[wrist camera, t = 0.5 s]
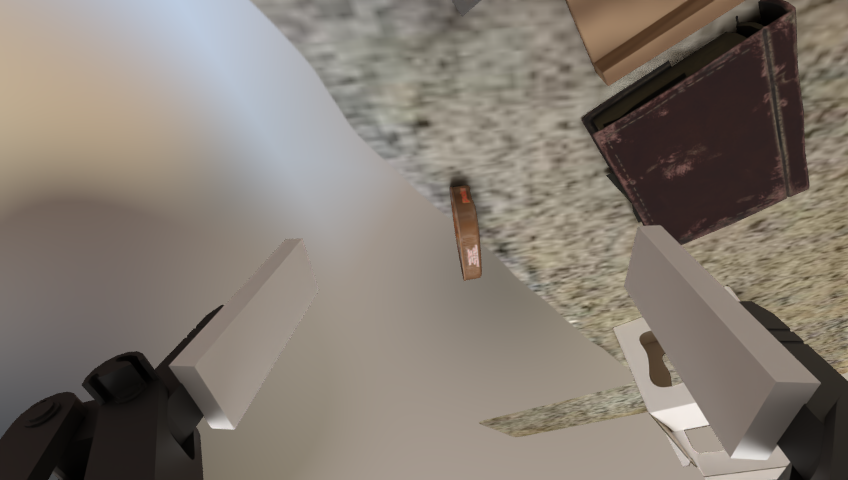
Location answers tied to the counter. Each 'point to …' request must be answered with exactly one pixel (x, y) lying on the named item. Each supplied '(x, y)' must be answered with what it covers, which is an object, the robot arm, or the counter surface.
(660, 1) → the tray
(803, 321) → the counter surface
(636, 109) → the diary
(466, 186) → the tin
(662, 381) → the gable box
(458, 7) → the mat
